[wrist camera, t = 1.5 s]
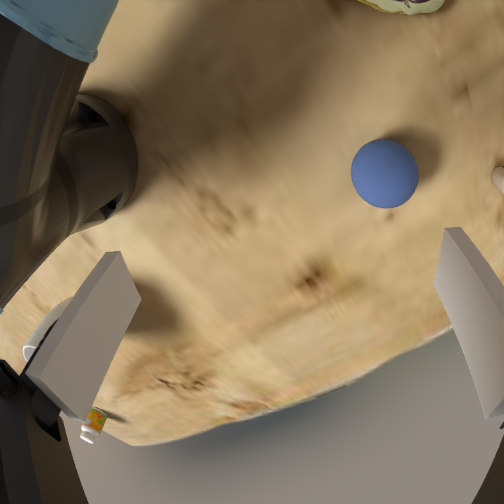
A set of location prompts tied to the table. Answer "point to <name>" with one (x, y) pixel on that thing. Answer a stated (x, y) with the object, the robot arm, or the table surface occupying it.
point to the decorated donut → (404, 6)
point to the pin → (498, 178)
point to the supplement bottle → (93, 425)
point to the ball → (384, 173)
